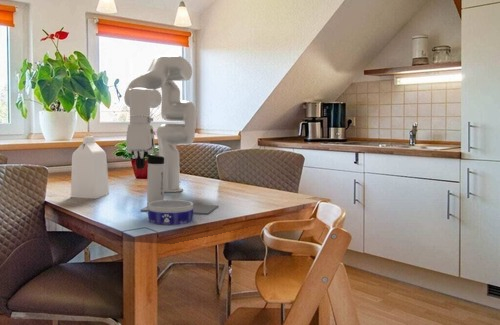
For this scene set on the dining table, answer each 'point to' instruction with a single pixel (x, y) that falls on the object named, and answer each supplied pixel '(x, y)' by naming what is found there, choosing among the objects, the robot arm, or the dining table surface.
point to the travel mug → (155, 178)
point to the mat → (197, 209)
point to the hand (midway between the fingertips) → (140, 168)
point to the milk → (89, 170)
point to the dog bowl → (170, 212)
